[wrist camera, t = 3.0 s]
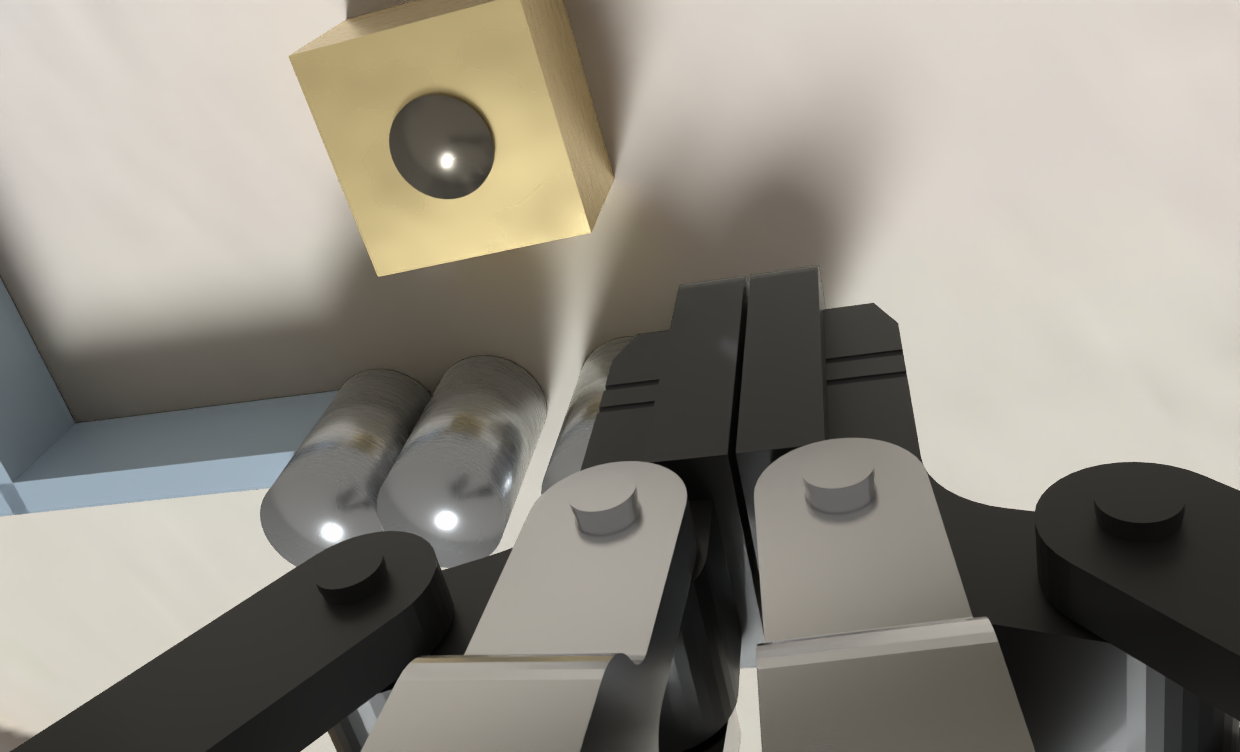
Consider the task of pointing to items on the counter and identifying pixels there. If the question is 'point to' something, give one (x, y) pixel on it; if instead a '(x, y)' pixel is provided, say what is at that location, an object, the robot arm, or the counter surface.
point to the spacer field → (427, 457)
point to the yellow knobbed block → (457, 128)
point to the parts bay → (131, 440)
